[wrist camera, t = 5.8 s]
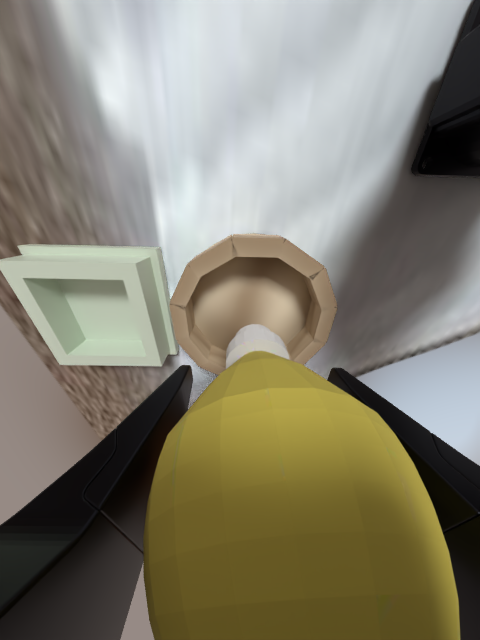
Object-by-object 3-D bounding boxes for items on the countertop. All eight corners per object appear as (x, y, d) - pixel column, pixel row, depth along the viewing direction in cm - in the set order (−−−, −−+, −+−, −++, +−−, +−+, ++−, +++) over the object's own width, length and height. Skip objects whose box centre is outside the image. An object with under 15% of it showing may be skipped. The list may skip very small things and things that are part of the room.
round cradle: (335, 235, 12) (359, 240, 10) (304, 359, 18) (314, 381, 15) (172, 231, 12) (156, 235, 10) (191, 357, 18) (183, 379, 15)
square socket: (160, 247, 13) (142, 254, 10) (179, 349, 17) (169, 370, 15) (29, 244, 13) (-21, 251, 10) (82, 347, 17) (56, 369, 15)
